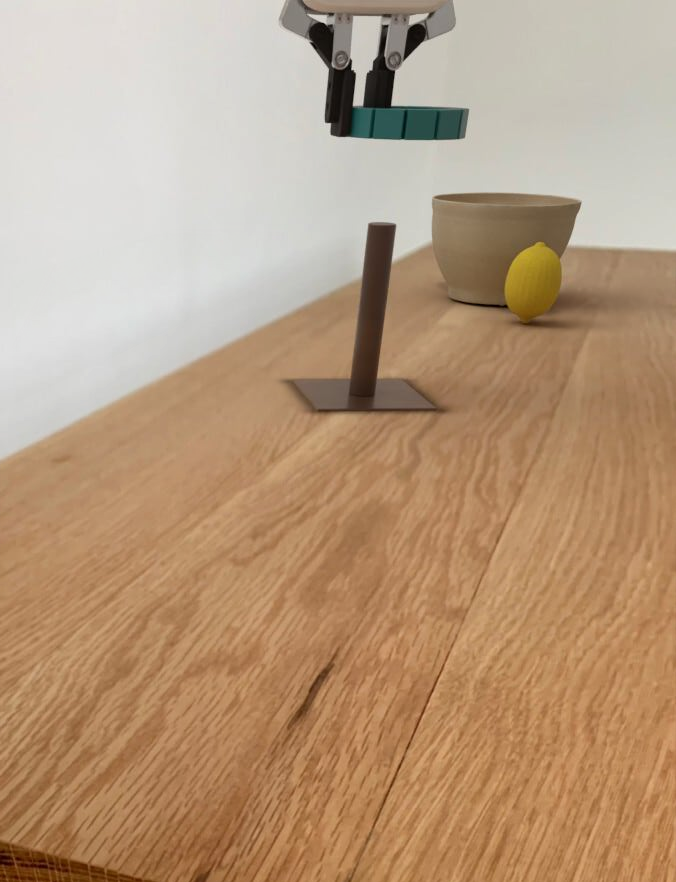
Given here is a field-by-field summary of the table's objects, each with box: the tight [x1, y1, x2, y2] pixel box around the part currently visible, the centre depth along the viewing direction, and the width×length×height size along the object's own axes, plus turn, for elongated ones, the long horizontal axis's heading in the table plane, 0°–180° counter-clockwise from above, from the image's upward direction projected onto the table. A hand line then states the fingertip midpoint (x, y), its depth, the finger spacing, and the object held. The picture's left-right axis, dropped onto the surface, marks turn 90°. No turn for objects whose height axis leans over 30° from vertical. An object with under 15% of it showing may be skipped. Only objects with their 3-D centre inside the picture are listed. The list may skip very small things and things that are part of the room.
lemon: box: [505, 242, 563, 324], centre depth 116 cm, size 6×6×8 cm
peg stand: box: [292, 221, 437, 413], centre depth 83 cm, size 9×9×14 cm
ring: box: [346, 105, 470, 141], centre depth 78 cm, size 8×8×2 cm
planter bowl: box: [431, 191, 583, 307], centre depth 127 cm, size 16×16×11 cm
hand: (354, 134), depth 78 cm, fingers closed on ring, 1 cm apart
